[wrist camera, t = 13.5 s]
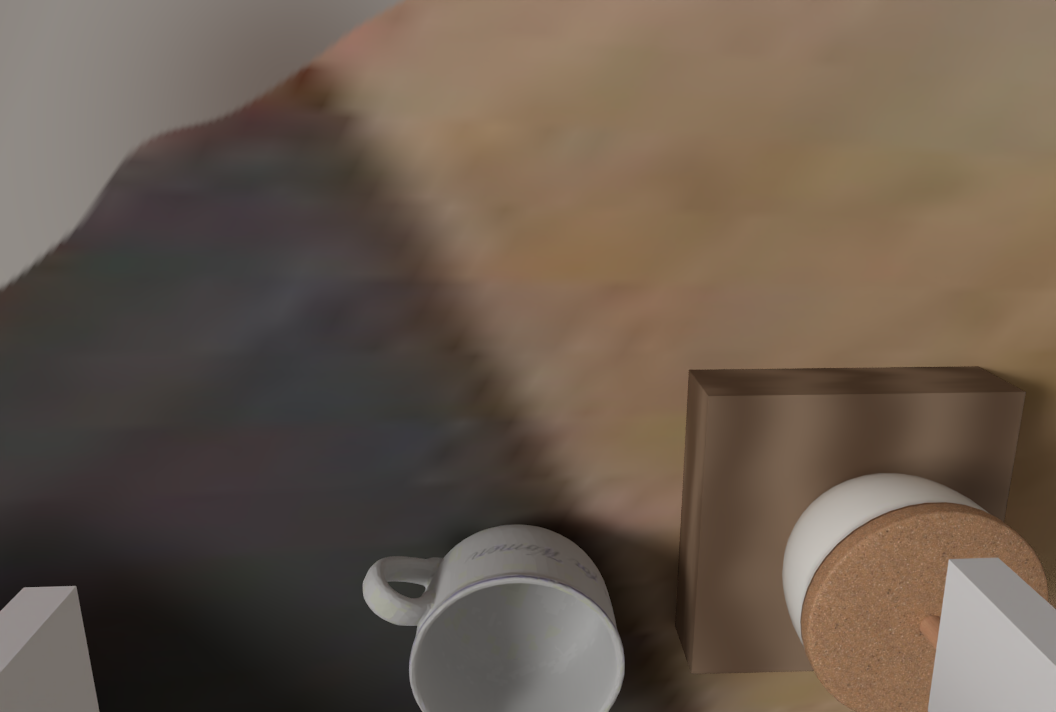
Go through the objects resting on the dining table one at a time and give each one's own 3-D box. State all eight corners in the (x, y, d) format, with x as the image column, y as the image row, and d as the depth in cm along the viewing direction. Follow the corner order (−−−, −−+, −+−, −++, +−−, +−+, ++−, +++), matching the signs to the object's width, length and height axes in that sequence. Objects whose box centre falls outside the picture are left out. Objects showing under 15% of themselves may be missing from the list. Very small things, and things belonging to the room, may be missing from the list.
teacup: (643, 574, 50) (670, 659, 42) (524, 697, 52) (528, 800, 44) (458, 433, 47) (450, 496, 39) (339, 569, 49) (309, 654, 41)
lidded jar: (886, 398, 42) (994, 481, 33) (994, 542, 45) (1121, 654, 36) (713, 526, 44) (771, 638, 35) (827, 658, 47) (909, 793, 38)
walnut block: (673, 621, 51) (691, 673, 47) (686, 366, 47) (708, 396, 42) (934, 615, 52) (979, 666, 47) (972, 363, 47) (1025, 391, 43)
